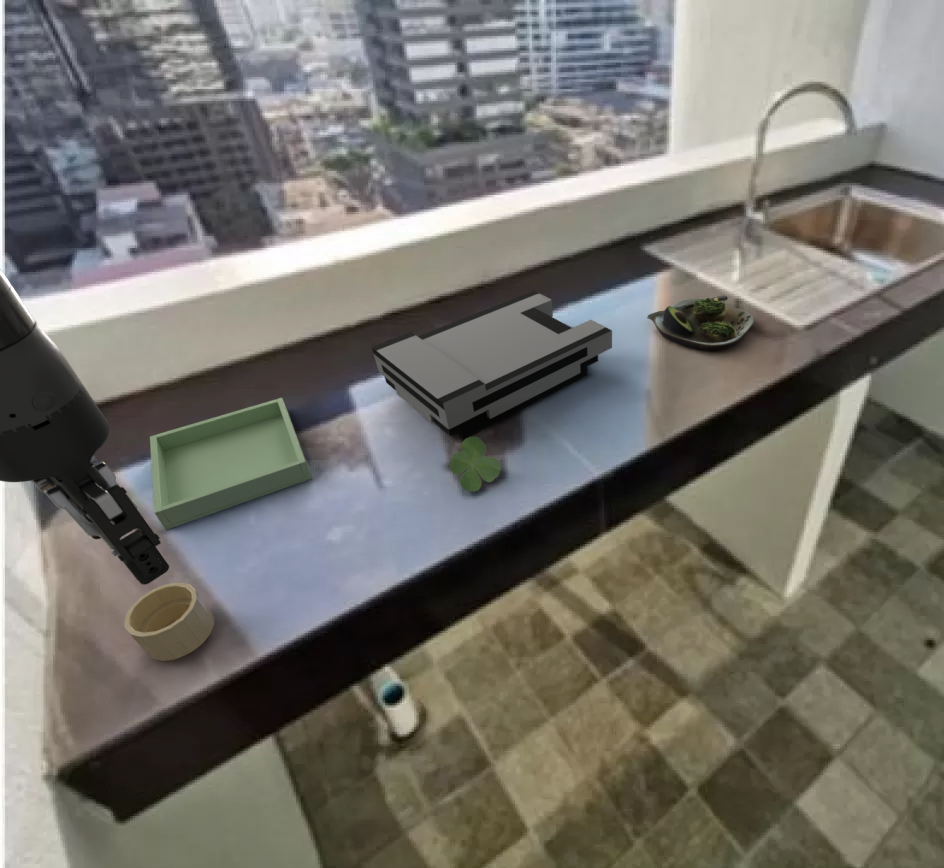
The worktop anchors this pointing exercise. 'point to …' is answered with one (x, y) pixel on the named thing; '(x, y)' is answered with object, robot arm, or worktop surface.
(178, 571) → the worktop surface
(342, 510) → the worktop surface
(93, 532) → the robot arm
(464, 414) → the game console
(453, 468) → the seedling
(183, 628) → the beige cup
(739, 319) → the salad plate
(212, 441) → the tray
